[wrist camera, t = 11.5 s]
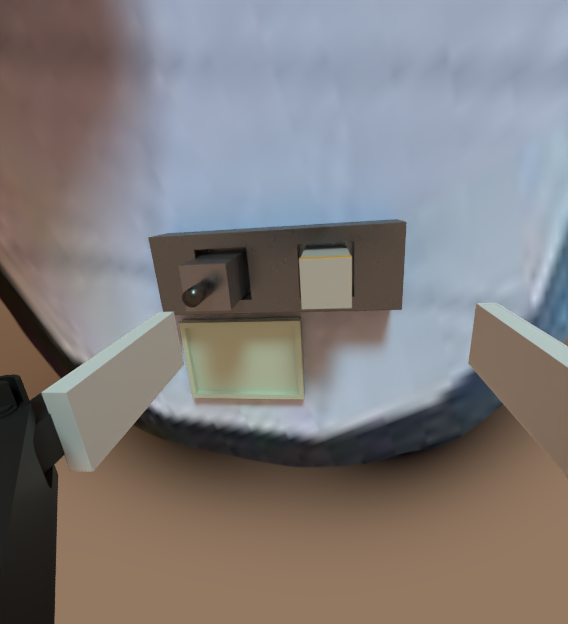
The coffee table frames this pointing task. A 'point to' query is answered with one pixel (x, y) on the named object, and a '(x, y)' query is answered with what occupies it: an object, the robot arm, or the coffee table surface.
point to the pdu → (274, 267)
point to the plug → (326, 277)
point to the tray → (244, 357)
